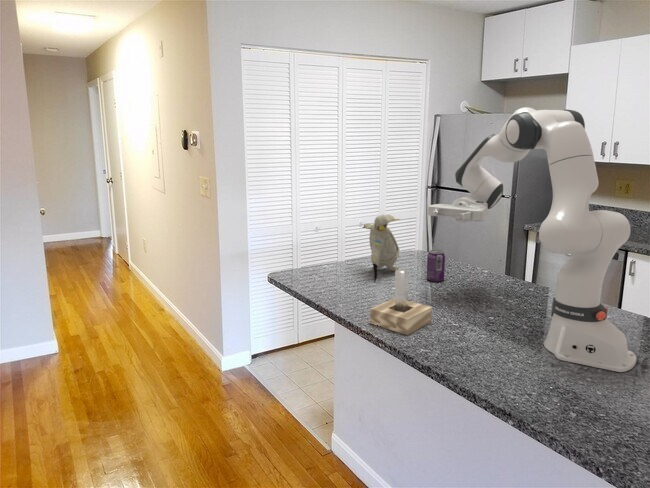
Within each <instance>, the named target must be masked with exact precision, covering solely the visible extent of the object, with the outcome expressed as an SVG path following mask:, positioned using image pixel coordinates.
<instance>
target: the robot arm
mask: <svg viewBox="0 0 650 488" xmlns="http://www.w3.org/2000/svg"><path fill="white" fill-rule="evenodd" d="M507 119H508V120H506V122H505V123H504V125H503V127H501V130H500V131H499V133H497V134H494V133H492V134H490V135H488V136H487V137H485V138H484V139H483V140H482V141H481V142H480V144H479V145H477V147H476V148H475V149H474V150H473V152H472V153H471V154H470V155H469V156H468V158H467V159H466V160H465V161H464V162H462V164H461V165H459V167H458V168H457V169H456V171H455V173H454V174H455V175H454V177H455V182H456V183H457V184H458V185H459V186H461V187H462V188H464V189H465V190H466V191H468V193H470V195H467V196H463V197H460V198H457V199H455V200H454V201H453V202H452V203H451V204H447V203H445V204H444V203H435V204H430V205H428V206H427V214H428V216H431V217H439V218H449V219H454V221H456V222H458V223H467V222H468V223H470V222H486V221H487V219H488V213H489V212H488V210H490V209H492V208H493V207H495V205H497V204H498V202H499V201H500V200H501V199H502V197H503V195H504V184H503V183H502V182H501V181H500V180H499V179H498V178H496V177H495V176H494V175H492V174H491V173H490V172H488V171H487V169H485V168H484V167H483V166H482V165H481V162H482V161H483V160H484V158H485V157H489V158H491V159H492V158H493V159H496V160H497V161H499V162H503V163H516V162H519V161H522V160H523V159H524V158H525V157H526V156H527V155H528V154H529V152H530V151H531V150H536V149H537V150H539V149H540V150H541V149H542V150H545V152H546V157H547V163H548V164H547V165H548V169H549V175H550V181H551V188H552V189H551V190H552V202H551V207H550V210H549V212H548V215H547V217H546V218H545V219H544V220H543V221H542V223H541V224H540V227H539V230H538V238H539V242H540V243H541V246H542V247H543V248H544V249H545V250H546V251H547V252H548V253H553V254H557V255H567V256H568V255H570V257H569V259H568V260H567V261H566V263H564V264H563V265H562V266H561V267H560V268H559V270H558V272H557V274H556V275H557V276H556V283H555V284H556V285H555V291H554V297H553V298H552V302H551V313H550V314H551V321H550V326H549V329H548V332H547V335H546V338H545V340H544V341H543V345H544V348H545V349H546V350H547V351H549V352H550V353H552V354H553V355H554V356H555V357H556V359H558V360H559V361H565V362H569V363H574V364H579V365H583V366H588V367H593V368H597V369H603V370H607V371H612V372H617V373H624V372H627V371H630V370H632V369H633V368H634V367H635V366H636V363H637V355H636V354H635V352H633V351H631V350H629V348H628V347H629V346H628V339H627V337H626V334H625V333H623V332H622V331H621V330H620V329H619V328H618V327H616V325H614V324H613V323H612V322H611V321H609V319H607V318H608V311H609V306H606V307H605V306H604V305H603V304H601V296H602V289H603V285H604V279H605V276H606V272H607V270H608V267H609V266H610V264H611V261H612V260H613V258H614V256H615V254H616V253H617V251H618V250H620V248H621V247H622V246H623V245H624V244H626V242H627V241H628V240H629V239H630V236H631V232H632V231H631V225H630V221H629V219H628V218H627V217H626V216H625V215H624V214H622V213H620V212H617V211H613V210H606V209H597V210H590V199H591V196H592V194H593V193H595V192H596V190H597V189H598V187H599V178H598V177H599V176H598V172H597V166H596V162H595V157H594V153H593V148H592V144H591V142H590V139H589V137H588V134H587V131H586V124H585V123H586V122H585V120H584V117H583V115H582V114H581V113H580V112H578V111H576V110H573V109H562V110H561V109H537V110H536V109H534V108H533V107H528V106H526V107H525V106H524V107H520V108H519V109H516V110H515V111H514V112H513V114H511V116H510V117H509V118H507Z"/></svg>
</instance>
